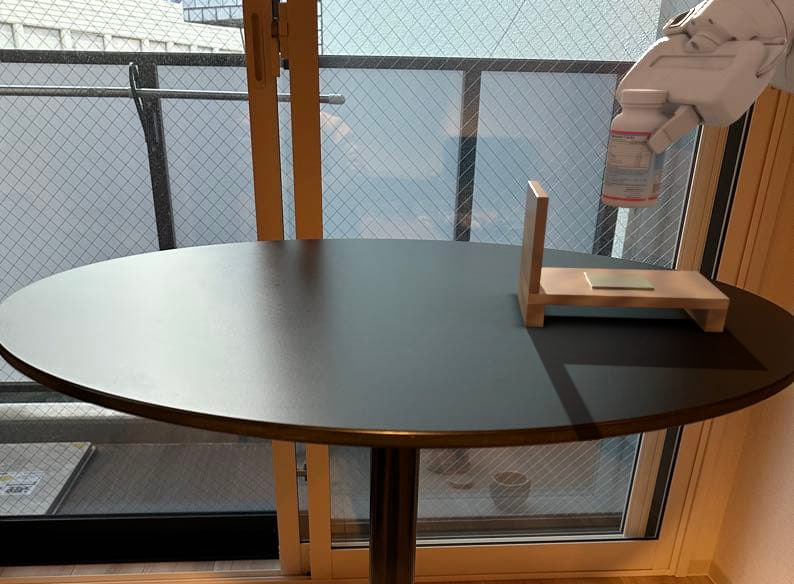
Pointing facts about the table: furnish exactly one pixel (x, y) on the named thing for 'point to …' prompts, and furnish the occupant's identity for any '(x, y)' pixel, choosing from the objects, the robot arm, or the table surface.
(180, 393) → the table surface
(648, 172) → the pill bottle
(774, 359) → the table surface
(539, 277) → the shelf
